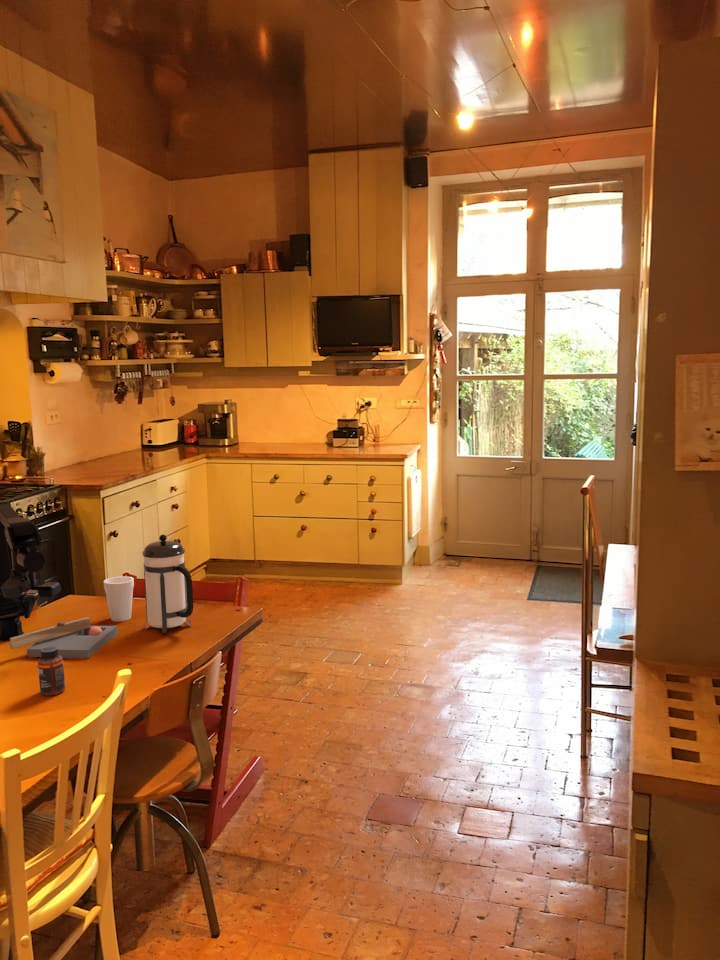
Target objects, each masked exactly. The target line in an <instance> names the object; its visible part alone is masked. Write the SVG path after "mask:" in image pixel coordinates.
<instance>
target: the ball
mask: <svg viewBox="0 0 720 960" xmlns="http://www.w3.org/2000/svg"><path fill="white" fill-rule="evenodd" d="M93 626H94V627H92V628H91V629H90V630H89V632H88V634H89V636H97V635H99V634H100V633H101V632H102V629H101V628H100V627H97V626H98V625H93Z"/></svg>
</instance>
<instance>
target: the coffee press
mask: <svg viewBox="0 0 720 960" xmlns="http://www.w3.org/2000/svg"><path fill="white" fill-rule="evenodd" d="M158 538H159V540H158V541H155V542H151V543H149V544H147V545H146V546H145V547H144V550H143V551H142V556H143V560H144V561H143V562H144V563H143V570H144V571H143V578H144V593H145V594H144V595H145V596H144V597H145V608H146V609H145V611H146V613H145V614H146V621H145V622H144V624H143V627H142V628H143V629H144V630H148V629H149V628H150V627H152V628H155V629H156V628H157V629H162V630H161V633H162V636H163V635H168V631H169V630H168V629H171V628H175V627H178V626H181V625H184V626H186V627H188V626H189V624H187V623H186V621H188V622H189V623H190V627H192V623H193V622H192V621H191V620H190V619H189V617H191V615H192V614H193V611H194V591H193V588H194V587H193V578H192V576H191V573H190V571H189V570H188V568H186V563H185V562H186V561H185V552H186V550H185V548H184V547H183V545H182V544H181V543H180V542H178V541H175V540H167V535H166V534H160V535H159V537H158ZM147 623H148V624H149V626H147V627H146V624H147ZM188 628H189V627H188Z"/></svg>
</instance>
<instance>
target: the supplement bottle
mask: <svg viewBox="0 0 720 960" xmlns="http://www.w3.org/2000/svg"><path fill="white" fill-rule="evenodd" d="M64 667H65V666H64V658H62V656H61V655H59V654H58V648H57V647H46V648H43V649H42V650H41V658H38V660H37V670H38V681H39V682H38V684H39V691H40V694H41V695H42V696H46V697H47V696H49V697H51V696H56V695H59V694H61V693H63V692H64V691H65V690H66V682H65V679H66V678H65V668H64Z"/></svg>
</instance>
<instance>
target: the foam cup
mask: <svg viewBox="0 0 720 960" xmlns="http://www.w3.org/2000/svg"><path fill="white" fill-rule="evenodd" d="M134 579H135V578H134V577H132V576H125V575H124V576H121V575H120V576H113V577H109V578H106V579H104V580H103V590H104V591H105V596H106V602H107V607H108V611H109V616H110V620H111V621H112V622H125V621H128V620H130V619H131V618H132V607H133V596H134V593H133V592H134V587H135V580H134Z"/></svg>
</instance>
